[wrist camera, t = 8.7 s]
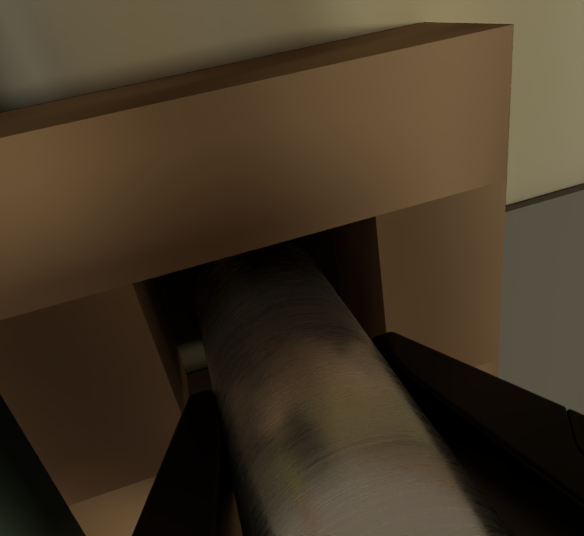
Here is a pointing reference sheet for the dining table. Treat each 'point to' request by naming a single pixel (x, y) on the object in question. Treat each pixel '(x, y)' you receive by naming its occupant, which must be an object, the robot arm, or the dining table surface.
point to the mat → (544, 297)
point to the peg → (321, 412)
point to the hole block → (241, 227)
